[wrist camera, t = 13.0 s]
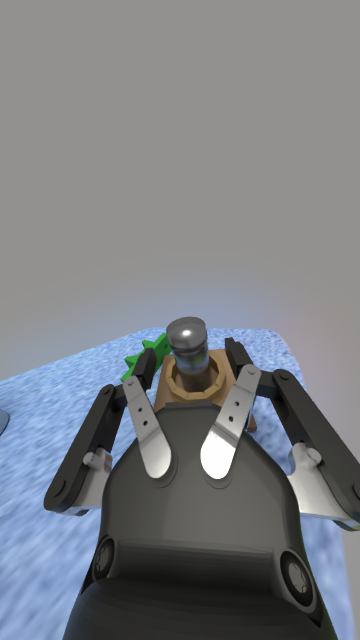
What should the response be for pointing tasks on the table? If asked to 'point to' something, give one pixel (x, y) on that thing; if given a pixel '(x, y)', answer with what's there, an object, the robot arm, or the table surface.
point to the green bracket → (160, 350)
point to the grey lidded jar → (190, 353)
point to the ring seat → (218, 392)
